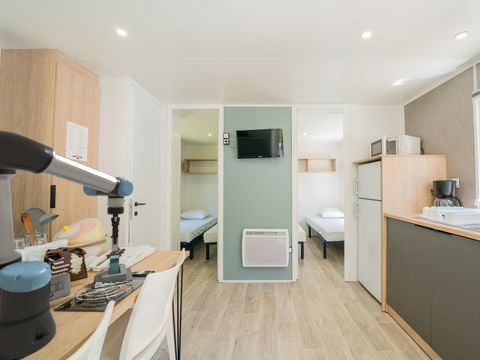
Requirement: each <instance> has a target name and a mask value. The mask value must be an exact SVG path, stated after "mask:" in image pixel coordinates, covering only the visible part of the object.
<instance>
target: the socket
mask: <svg viewBox="0 0 480 360" xmlns="http://www.w3.org/2000/svg"><path fill="white" fill-rule="evenodd" d="M133 278H134V277H133V273H132V269H131V267H126V264H125V263H123V264H119V274H113V275H110V265H109V266H103V268H102V272H97V273H96V277H95V281H94V284H95V283H96V282H102V284H104V283H111V282H112V283H116V282H123V281H133V282H134V279H133Z"/></svg>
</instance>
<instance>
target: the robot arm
mask: <svg viewBox="0 0 480 360" xmlns="http://www.w3.org/2000/svg"><path fill="white" fill-rule="evenodd" d="M17 171H22V172H23V171H25V172H28V173H29V172H30V173H32V174H36V175H38V174H39V175H40V174H46V175H50V176H53V177H57V178H58V179H59V178H60V179H63V180H65V181H69V182H72V183H74V184H78V185H80V186H82V190H83V193H84V194H85V195H86V196H88V197H89V196H90V197H94V196H95V197H98V196H99V197H101V196H102V197H107V204H106V205H107V206H108V207H107V208H106V209H107V210H106V213H107V215H112V217H110V222H111V227H112V229H111V231H112V232H111V236H110V239H111V252H118V251H119V237H120V236H119V232H120V230H119V226H120V221H121V216H119V215H123V214H124V213H125V207H124V206H125V202H126V199H125V197H129V196H130V195H132V194H133V192H134V184H133V182H131V180H128V179H125V178H124V177H122V176H112V175H110V174H107V173H105V172H102V171H100V170H98V169H95V168H93V167H90V166H88V165H86V164H83V163H81V162H79V161H76V160H74V159H72V158H69V157H67V156H65V155H61V154H60V153H57V152H55V149H54V148H53V147H51V146H48V145H46V144H44V143H41V142H39V141H37V140H34V139H32V138H29V137H27V136H24V135H22V134H20V133H16V132H12V131H9V130H8V131H6V130H0V360H14V359H16V360H19V359H21V358H24V357H26V356H28V355H31V354H32V353H35V352H36V351H38V350H40V349H42V348H43V347H45V346H46V345H47V344H48V343H50V342H51V341H52V340H53V339H54V338H55V336H56V334H57V324H56V323H57V322H56V321H55V319H54V317H53V315H52V312H51V310H50V309H51V301H50V297H51V294H50V283H51V277H52V272H51V271H52V269H51V266H50V265H49V263H47V262H46V261H41V260H26V261H23V254H22V253H21V252H20V251H17V250H16V247H15V234H14V222H13V219H14V217H13V206H12V205H13V204H12V193H11V190H12V189H11V180H12V179H13V178H14V177H15V176H16V175H17ZM18 358H19V359H18Z"/></svg>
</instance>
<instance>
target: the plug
mask: <svg viewBox="0 0 480 360" xmlns="http://www.w3.org/2000/svg"><path fill="white" fill-rule="evenodd" d="M119 265H120V255H111V256H110V257H109V266H110V275H113V274H119Z"/></svg>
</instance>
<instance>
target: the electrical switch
mask: <svg viewBox="0 0 480 360" xmlns="http://www.w3.org/2000/svg"><path fill="white" fill-rule="evenodd" d="M71 288H72V287H71V274H70V273H69V272H65V273H60V274H58V275H53V276H51V283H50V302H51V301H54V300H58V299H60V298H63V297H66V296H67V297H68V296H70V295H71V293H72V292H71V291H72V289H71Z"/></svg>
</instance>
